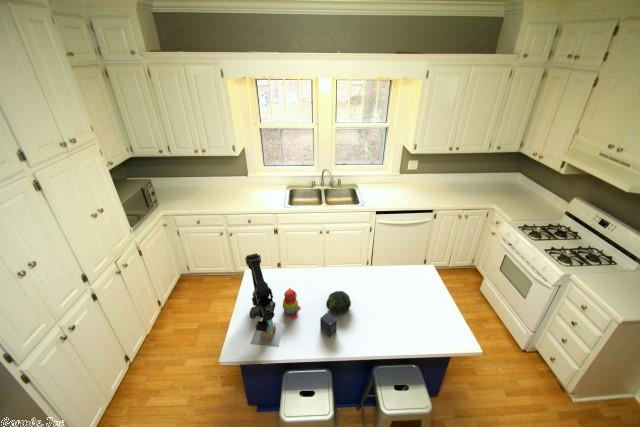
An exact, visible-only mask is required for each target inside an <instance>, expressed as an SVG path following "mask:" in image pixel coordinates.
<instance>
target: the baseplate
mask: <svg viewBox="0 0 640 427" xmlns="http://www.w3.org/2000/svg"><path fill="white" fill-rule="evenodd" d="M273 324H275V327H276V329H275V333H274V336H273V339H267V338H260V331H257V330H256V329H254V330H255V331H254V332H253V336H252V338H251V340H250V345H256V346H257V345H258V346H266V347H267V346H268V347H275V348H279V346H280V343H281V341H282V340H281V339H282V336H283V332H284V328H285V324H286V323H285V322H278V321H277V322H274V321H273Z"/></svg>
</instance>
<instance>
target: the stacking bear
mask: <svg viewBox="0 0 640 427" xmlns="http://www.w3.org/2000/svg"><path fill="white" fill-rule="evenodd" d="M297 296H298V294H297V292H296V291H295V290H294V289H291V288H290V287H289V288H288V289H287V290H285V292H284V298H283V300H282V308H283V314H284V316H286V317H287V318H289V319H292V320H295V319H298V316H299V315H298V313H299V312H300V310H301V309H302V308H301V306H300V305H299V301H298V300H297Z"/></svg>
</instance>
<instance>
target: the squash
mask: <svg viewBox="0 0 640 427" xmlns="http://www.w3.org/2000/svg"><path fill="white" fill-rule="evenodd" d="M325 303H326V305H325V306H326V308H327V309H328V311H329V313H331V314H333V315H337V316H339V315H344V314H347V313H349V311H350V307H351V305H352V302H351V298H350V296H349V295H348V293H346V292H345V291H344V290H337V291H333V292H331V293H330V294H329V295H328V298H327V299H326V302H325Z"/></svg>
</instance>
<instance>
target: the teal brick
mask: <svg viewBox="0 0 640 427" xmlns="http://www.w3.org/2000/svg"><path fill="white" fill-rule="evenodd" d="M261 321H263V319H262V320H261ZM265 321H266V320H265ZM267 322H268V323H269V327H268V330H267V331H266V332H271V330H272V327H273V322H274V321H273V318H272V319H271V320H267ZM262 332H264V331H262Z"/></svg>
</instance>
